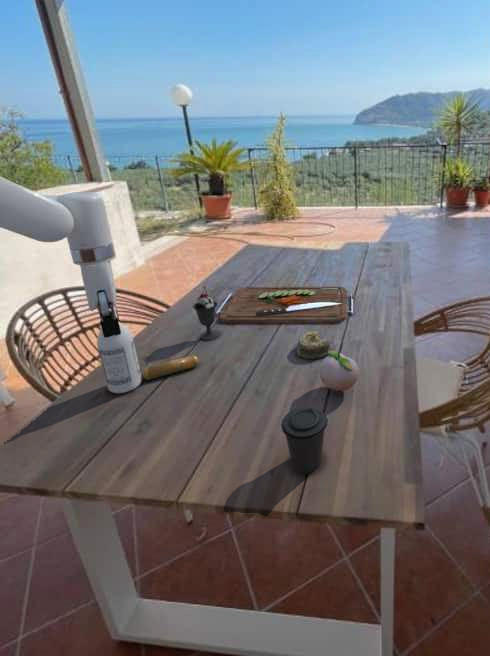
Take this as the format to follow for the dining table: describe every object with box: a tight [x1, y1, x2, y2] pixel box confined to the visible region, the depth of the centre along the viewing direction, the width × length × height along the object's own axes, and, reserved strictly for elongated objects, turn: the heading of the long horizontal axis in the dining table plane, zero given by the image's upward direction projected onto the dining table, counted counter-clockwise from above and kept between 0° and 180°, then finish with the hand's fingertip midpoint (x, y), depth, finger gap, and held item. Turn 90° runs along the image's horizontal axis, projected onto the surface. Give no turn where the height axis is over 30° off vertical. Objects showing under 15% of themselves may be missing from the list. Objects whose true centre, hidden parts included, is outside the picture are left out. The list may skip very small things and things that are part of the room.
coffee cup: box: [280, 405, 329, 474], centre depth 70 cm, size 8×8×10 cm
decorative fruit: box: [318, 350, 360, 392], centre depth 89 cm, size 9×8×10 cm
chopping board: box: [215, 286, 354, 324], centre depth 134 cm, size 45×27×3 cm, turn 91°
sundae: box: [192, 286, 219, 341], centre depth 111 cm, size 7×7×15 cm
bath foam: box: [96, 306, 143, 394], centre depth 88 cm, size 7×7×20 cm
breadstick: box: [141, 355, 200, 381], centre depth 96 cm, size 13×3×3 cm, turn 122°
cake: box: [296, 331, 333, 360], centre depth 106 cm, size 10×10×5 cm
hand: (112, 330), depth 87 cm, fingers closed on bath foam, 3 cm apart
